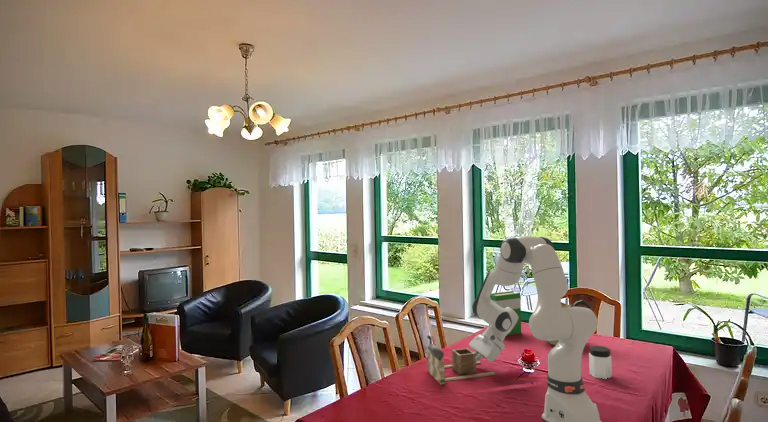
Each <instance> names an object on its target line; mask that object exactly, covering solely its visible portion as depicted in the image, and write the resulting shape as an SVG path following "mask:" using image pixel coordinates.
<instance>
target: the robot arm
mask: <svg viewBox="0 0 768 422" xmlns="http://www.w3.org/2000/svg"><path fill="white" fill-rule="evenodd" d="M499 249H500V253H499V255H498V259H497V261H496V265H495V267H494V268H492V269H490V270H489V271H488V273H487V274H486V275H485V278H484V280H483V282H482V284H481V287H480V290H479V292H478V294H477V296H476V298H475V299H474V301H473V302H472V308H471V309H472V313H473V314H474V316H476V317H478V318H479V319H481V320H483V321H484V322H485V323H487V324H488V326H487V328H486V329H485V330H484V332H482V333H479V334H477V335H475V336H474V338H473V339H472V340H471V341H470V342H469V344H468V346H469V347H470V348H471V349H472V350H473V352H474V353H475V360H476V363H477V362H478V361H481V359H483V358H485V359H486V360H488V361H489V362H490V363H492V362H495V360H497V358H498V357H499V356H500V354H501V353H502V351H504V350H505V349H506V345H505V344H504V342H503V341H504V340H505V338H506V335H507V334H508V333H510V331H511V330H512V329H513V327H514V326H515V324H516V323H517V321H518V315H517V313H516V312H515V311H514V310H513V309H511V308H509V307H506V308H502V307H500V306H499V305H497V304H496V303H494V302H493V301H492V300H491V298H490V295H491V294H492V293H493V291H494V288H495V286H496V285H497V286H502V287H509V286H513V285H515V284H517V283H519V281H520V279H521V278H522V277H521V276H522V275H523V274H522V273H523V269H524V266H525V265H524V264H529V265H530V268H531V272H532V277H533V281H534V284H535V289H536V292H537V302H536V303H537V304H536V307H535V310H534V311H533V313H532V314H531V315H530V317H529V320H528V327H529V331H530V333H531V335H532V336H533V337H534V338H535V339H537V340H540V341H547V342H548V341H553V340H559V341H558V343H557V345H554V346H553V347H552V348H551V349H550V350H549V352H548V355H547V368H548V369H547V370H548V371H547V372H548V373H547V376H546V383H547V386H548V387H547V390H546V393H545V396H544V408H543V409H544V410H543V413H542V414H541V419H543V420H544V421H546V422H602V420H601V418H600V413H599V412H600V411H599V410H598V406H597V403H594V402H593V400H592V399H591V398H590V397H589V395H588V394H587V393H586V389H587V387H586V386H587V384H584V383H585V382H584V380H583V377H582V355H583V353H584V349H585V346H586V344H587V342H588V340H589V339H590V337H592V335H593V334H595V333H596V331H597V330H598V327H599V326H598V324H599V323H598V318H597V315H596V314H595V312H594V311H593V310H590V309H589V308H586V307H585V306H583V307H582V306H578V307H566V308H562V307H561V302H562V298H563V297H564V296H565V295H566V294H567V293H568V290H569V285H568V281H567V278H566V276H565V272H564V269H563V266H562V263H561V261H560V258H559V256H558V254H557V252H556V250H555V248H554V244H553V242H552V240H550V239H549V238H548V237H544V236H529V235H521V236H511V237H506V238H504V239H503V240H502V242H501V244H500V248H499ZM489 324H490V326H489ZM507 336H508V335H507Z"/></svg>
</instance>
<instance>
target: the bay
mask: <svg viewBox="0 0 768 422" xmlns="http://www.w3.org/2000/svg"><path fill="white" fill-rule="evenodd" d="M426 337H427V339H428V340H429V344H428V345H427V371H428V373H429V374H430V375H431V377H433V378H434V380H436V382H438V383H439V385H447V384H448V383H447V382H449V381H457V380H465V379H472V378H480V377H481V378H482V377H488V376H494V375H495V376H496V372H495V371H491V372H482V373H475V374H467V375H458V376H451V377H445V369H447V368H449V369H450V368H452V364H446V365H445V360H444V359H443V358H444V355H445V354H444V352H443V351H442V350H441V349H440V348H439V347H437V346H436V345H435V344H434V343H433V342H432V341H433V340H432V336H431V335H427V336H426ZM481 364H482V362H481V360H479V361H478V362H477V363H476V365H481Z"/></svg>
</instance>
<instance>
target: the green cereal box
mask: <svg viewBox="0 0 768 422" xmlns="http://www.w3.org/2000/svg"><path fill="white" fill-rule="evenodd" d="M490 298H491V300H492V301H493V302H494V303H496V304H497V305H499V306H500V307H502V308H506V307H509V308H511V309H513V310H514V311H515V312H516V313H517V315H518V321H517V323H516V324H515V326H514V327H513V329H512V330H511V331H510V333H508V334H507V335H506V336H512V335H518V334H519V335H520V334H522V312H521V311H522V309H521V306H522V304H521V303H522V302H521V301H522V300H521V292H514V290H511V291H501V292H494V293H493V292H492V293H491V295H490ZM489 326H490V324H488V327H489ZM506 336H505V337H506Z"/></svg>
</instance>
